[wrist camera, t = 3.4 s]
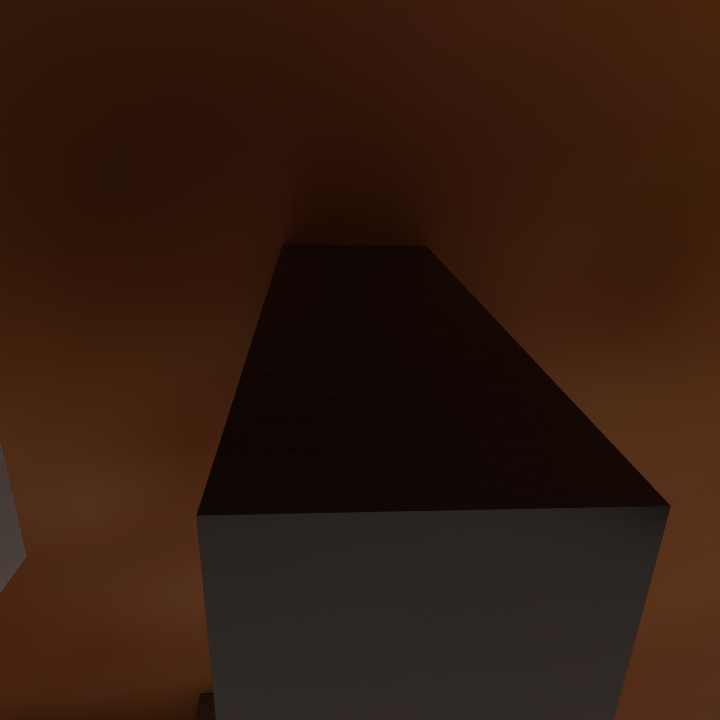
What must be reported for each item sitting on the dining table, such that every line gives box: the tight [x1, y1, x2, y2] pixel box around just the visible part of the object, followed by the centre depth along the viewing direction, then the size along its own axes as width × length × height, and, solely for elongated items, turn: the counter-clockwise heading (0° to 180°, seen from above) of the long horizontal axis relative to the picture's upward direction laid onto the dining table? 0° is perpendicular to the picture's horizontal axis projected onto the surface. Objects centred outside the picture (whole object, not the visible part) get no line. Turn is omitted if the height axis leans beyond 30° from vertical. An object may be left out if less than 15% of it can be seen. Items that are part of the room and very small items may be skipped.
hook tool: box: [195, 245, 671, 720], centre depth 14 cm, size 19×8×12 cm, turn 179°
